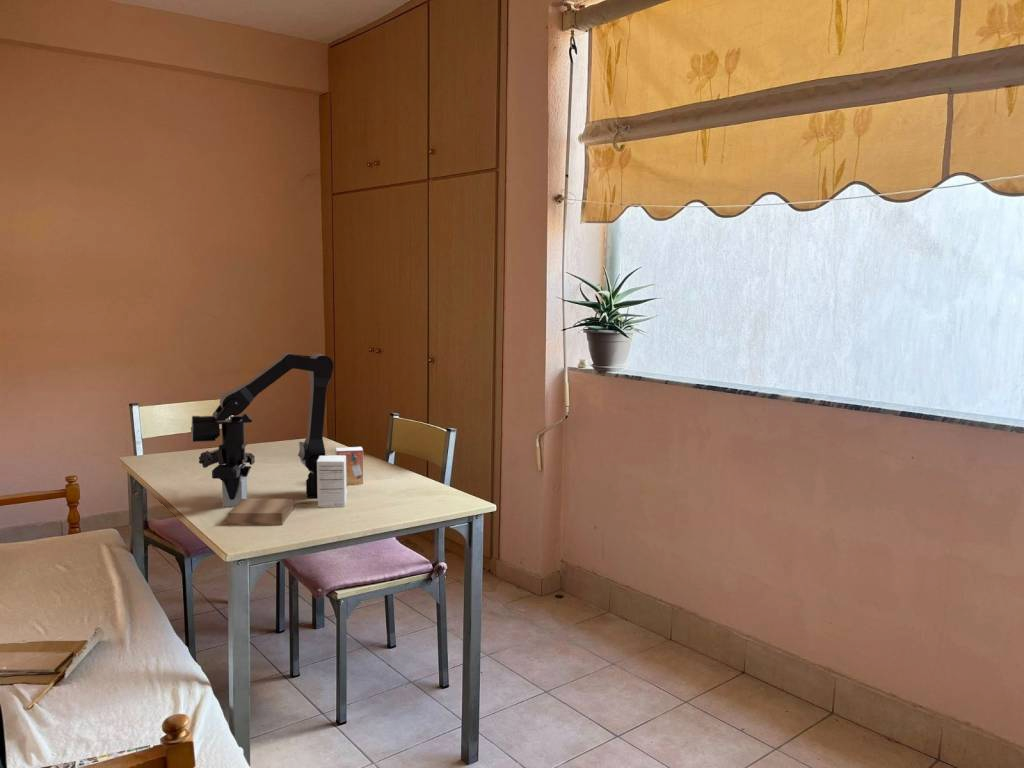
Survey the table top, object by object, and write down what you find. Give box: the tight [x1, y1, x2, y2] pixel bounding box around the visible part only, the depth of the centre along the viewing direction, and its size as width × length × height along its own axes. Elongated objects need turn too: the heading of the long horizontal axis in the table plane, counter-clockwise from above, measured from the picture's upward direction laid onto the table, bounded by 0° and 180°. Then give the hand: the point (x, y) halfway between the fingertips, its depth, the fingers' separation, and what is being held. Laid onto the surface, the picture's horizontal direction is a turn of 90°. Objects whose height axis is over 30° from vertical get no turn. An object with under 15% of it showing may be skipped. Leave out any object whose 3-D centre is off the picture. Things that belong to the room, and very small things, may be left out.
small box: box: [334, 446, 364, 486], centre depth 235 cm, size 8×6×10 cm
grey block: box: [221, 476, 248, 508], centre depth 210 cm, size 5×5×7 cm
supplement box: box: [317, 454, 348, 508], centre depth 212 cm, size 7×7×13 cm
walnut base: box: [227, 498, 294, 526], centre depth 199 cm, size 13×13×3 cm
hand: (235, 496), depth 211 cm, fingers closed on grey block, 5 cm apart
